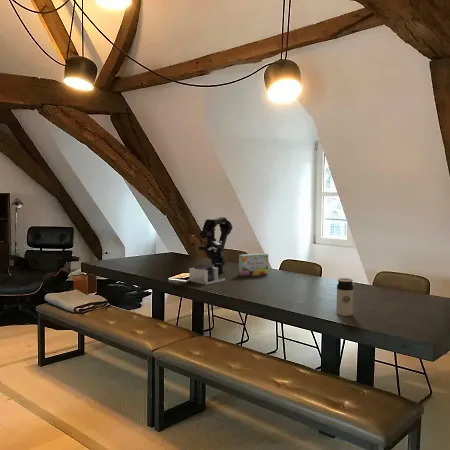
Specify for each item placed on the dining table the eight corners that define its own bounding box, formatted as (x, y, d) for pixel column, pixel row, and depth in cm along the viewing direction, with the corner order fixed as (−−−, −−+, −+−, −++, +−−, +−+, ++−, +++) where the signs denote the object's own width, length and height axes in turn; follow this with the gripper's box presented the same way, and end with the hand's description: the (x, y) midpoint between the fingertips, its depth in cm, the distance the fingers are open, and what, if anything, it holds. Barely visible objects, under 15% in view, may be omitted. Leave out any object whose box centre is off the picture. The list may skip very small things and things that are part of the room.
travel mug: (336, 311, 259) (337, 277, 257) (352, 312, 257) (353, 278, 255) (335, 315, 251) (336, 280, 250) (352, 316, 249) (353, 281, 248)
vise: (207, 277, 348) (207, 264, 347) (225, 280, 337) (225, 267, 336) (187, 281, 334) (187, 267, 333) (206, 284, 323) (206, 271, 322)
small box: (194, 281, 334) (194, 265, 333) (200, 279, 340) (200, 264, 339) (206, 283, 328) (206, 267, 327) (212, 281, 333) (213, 266, 332)
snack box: (241, 276, 351) (242, 255, 350) (238, 275, 356) (238, 254, 355) (268, 274, 360) (268, 253, 358) (264, 273, 365) (264, 252, 364)
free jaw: (203, 278, 343) (204, 265, 342) (218, 280, 335) (218, 267, 334) (200, 278, 341) (200, 266, 340) (214, 281, 332) (214, 268, 331)
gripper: (210, 239, 338) (209, 261, 340) (227, 236, 352) (227, 258, 354) (198, 237, 345) (198, 260, 347) (216, 235, 360) (216, 257, 361)
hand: (210, 259), depth 352 cm, fingers closed
